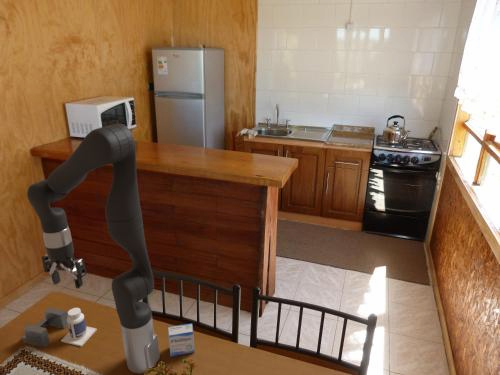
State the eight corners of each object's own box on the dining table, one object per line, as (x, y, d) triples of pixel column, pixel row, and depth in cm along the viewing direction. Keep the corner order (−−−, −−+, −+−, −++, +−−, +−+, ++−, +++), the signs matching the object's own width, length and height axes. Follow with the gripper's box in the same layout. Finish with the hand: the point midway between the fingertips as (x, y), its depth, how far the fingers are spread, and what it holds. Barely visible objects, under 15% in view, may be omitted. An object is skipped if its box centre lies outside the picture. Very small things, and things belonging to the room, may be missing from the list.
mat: (96, 329, 132) (96, 328, 132) (81, 346, 125) (81, 345, 125) (77, 325, 134) (77, 324, 134) (61, 341, 127) (61, 340, 127)
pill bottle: (89, 328, 132) (85, 306, 128) (83, 340, 127) (78, 316, 123) (74, 328, 132) (69, 306, 128) (67, 340, 127) (62, 316, 123)
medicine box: (170, 357, 121) (168, 336, 118) (169, 347, 125) (167, 326, 122) (195, 352, 122) (193, 331, 119) (193, 342, 127) (192, 322, 123)
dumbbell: (73, 320, 137) (70, 306, 135) (44, 347, 125) (40, 333, 122) (52, 315, 139) (49, 302, 137) (22, 342, 127) (18, 328, 125)
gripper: (86, 238, 117) (94, 281, 123) (48, 232, 121) (58, 275, 127) (69, 250, 111) (78, 295, 117) (30, 244, 114) (41, 288, 120)
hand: (68, 285), depth 122 cm, fingers open, 8 cm apart
